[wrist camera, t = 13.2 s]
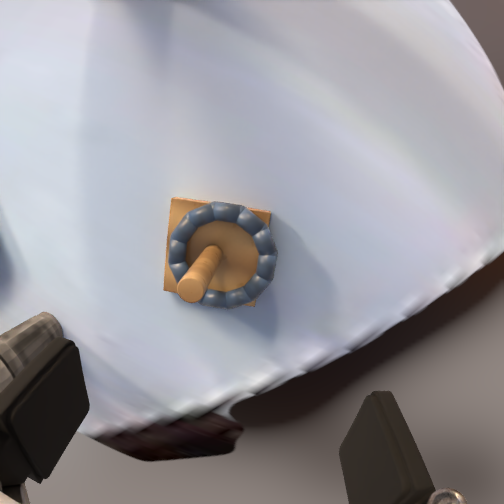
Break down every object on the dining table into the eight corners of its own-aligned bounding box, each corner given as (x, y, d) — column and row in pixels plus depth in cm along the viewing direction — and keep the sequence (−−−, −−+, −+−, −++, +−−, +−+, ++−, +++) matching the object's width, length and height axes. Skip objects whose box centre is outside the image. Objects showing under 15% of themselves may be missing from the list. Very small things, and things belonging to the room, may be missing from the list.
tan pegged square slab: (174, 196, 28) (129, 210, 18) (270, 211, 28) (273, 232, 18) (166, 286, 30) (126, 335, 20) (255, 301, 30) (249, 360, 20)
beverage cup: (80, 340, 33) (-15, 443, 14) (53, 358, 34) (-30, 447, 15) (46, 292, 32) (-67, 373, 12) (23, 315, 33) (-73, 390, 13)
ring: (177, 195, 27) (171, 196, 25) (284, 211, 27) (285, 213, 25) (168, 294, 29) (163, 300, 28) (266, 311, 29) (266, 318, 28)
